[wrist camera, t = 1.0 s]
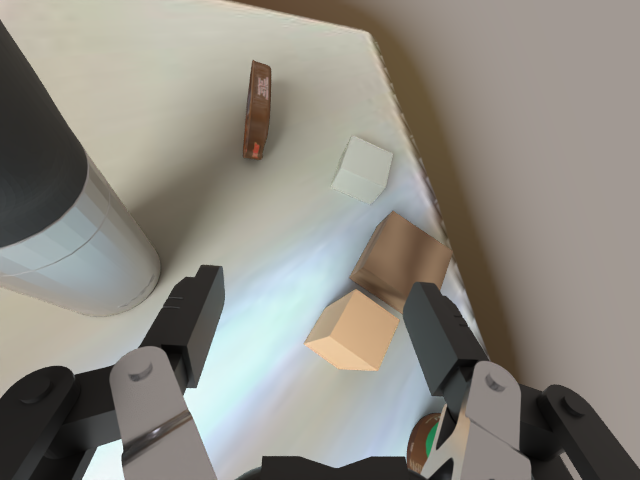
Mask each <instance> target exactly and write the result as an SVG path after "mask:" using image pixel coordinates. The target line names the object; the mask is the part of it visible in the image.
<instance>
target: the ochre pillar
mask: <svg viewBox="0 0 640 480" xmlns="http://www.w3.org/2000/svg"><path fill="white" fill-rule="evenodd" d="M399 321H400V320H399V319H398V318H396V317H395V316H393V315H392V314H391V313H389V312H388V311H386V310H385V309H384V308H382V307H381V306H379V305H378V304H377V303H375V302H374V301H372V300H371V299H370V298H368V297H367V296H365V295H364V294H363V293H361V292H360V291H358V290H357V289H355V290H353V291H352V292H350V293H348V294H347V295H345V296H344V297H342V298H340V299H339V300H337V301H336V302H334V303H332V304H331V305H329V306H328V307H326V308H325V309H324V311H323V312H322V314H321V316H320V317H319V319H318V321H317V322H316V324H315V326H314V327H313V329H312V330H311V332H310V334H309V335H308V337H307V339H306V340H305V342H304V345H306V346H307V347H308V348H310V349H311V350H313V351H314V352H315V353H317V354H318V355H320V356H321V357H322V358H324V359H325V360H327V361H328V362H329V363H331V364H332V365H334V366H335V367H336V368H338V369H349V370H369V371H378V370H379V368H380V365H381V363H382V361H383V358H384V356H385V354H386V351H387V349H388V347H389V344H390V342H391V340H392V337H393V335H394V333H395V330H396V328H397V326H398V323H399Z"/></svg>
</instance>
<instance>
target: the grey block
mask: <svg viewBox="0 0 640 480" xmlns="http://www.w3.org/2000/svg"><path fill="white" fill-rule="evenodd" d="M392 157H393V153H391V152H388V151H386V150H384V149H382V148H380V147H377V146H375V145H373V144H371V143H369V142H367V141H364V140H362V139H360V138H358V137H356V136H354V135H352V136H351V138H350V140H349V142H348V144H347V146H346V148H345V150H344V152H343V154H342V156H341V158H340V161H339V164H338V167H337V170H336V173H335V175H334V178H333V181H332V184H331V187H330V188H333V189H335V190H337V191H340V192H342V193H344V194H347V195H349V196H351V197H354V198H356V199H358V200H360V201H363V202H365V203H367V204H370V205H371V204H372V203H373V202H374V201H375V200H376V198H377V197H378V196H379V195H380V194H381V192H382V191H383V190H384V189H385V188H386V184H387V179H388V175H389V170H390V166H391V162H392Z"/></svg>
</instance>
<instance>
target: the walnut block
mask: <svg viewBox="0 0 640 480" xmlns="http://www.w3.org/2000/svg"><path fill="white" fill-rule="evenodd" d="M452 253H453V251H452V250H451V249H449V248H448V247H446V246H445V245H443V244H442V243H440V242H439V241H437V240H436V239H434V238H433V237H431V236H430V235H428V234H427V233H425V232H424V231H422V230H421V229H419V228H418V227H416V226H415V225H413V224H412V223H410V222H409V221H407V220H406V219H404V218H403V217H402V216H400V215H399V214H397V213H396V212H394V211H392V212H391V213H390V214H389V215H388V216H387V217H386V218H385V219H384V220H383V221H382V222H381V223H380V224H379V225H378V226H377V227H376V229H375V231H374V233H373V235H372V236H371V238H370V240H369V242H368V244H367V246H366V247H365V249H364V251H363V253H362V255H361V257H360V258H359V260H358V262H357V264H356V266H355V268H354V269H353V271H352V273H351V275H350V277H349V278H350V279H351V280H352V281H354V282H355V283H357V284H358V285H360V286H361V287H363V288H364V289H366V290H367V291H369V292H370V293H372V294H373V295H375V296H376V297H378V298H379V299H381V300H382V301H384V302H385V303H387V304H388V305H390V306H391V307H393V308H394V309H396V310H397V311H399V312H400V313H402V314H403V307H404V304H405V302H406V300H407V298H408V295H409V293H410V291H411V288H412V286H413V284H414V283H415V282H428V283H434V284H436V286H437V287H438V289H439V291H440V289H441V286H442V283H443V280H444V277H445V274H446V271H447V268H448V265H449V262H450V259H451V256H452Z"/></svg>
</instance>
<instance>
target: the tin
mask: <svg viewBox="0 0 640 480" xmlns="http://www.w3.org/2000/svg"><path fill="white" fill-rule="evenodd" d="M270 102H271V68H270V66H268V65H265V64H262V63H259V62H256V61H254V60H253V61H252V67H251V74H250V83H249V91H248V98H247V109H246V121H245V133H244V146H243V158H250V159H256V160H261V159H262V157H263V155H262V153H263V148H264V145H265V142H266V139H267V134H268V128H269V119H270V104H271V103H270Z"/></svg>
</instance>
